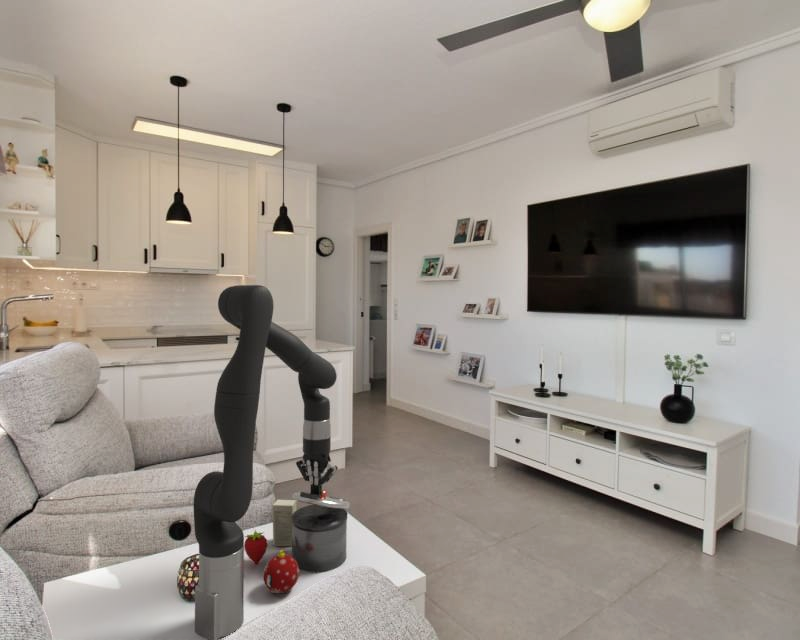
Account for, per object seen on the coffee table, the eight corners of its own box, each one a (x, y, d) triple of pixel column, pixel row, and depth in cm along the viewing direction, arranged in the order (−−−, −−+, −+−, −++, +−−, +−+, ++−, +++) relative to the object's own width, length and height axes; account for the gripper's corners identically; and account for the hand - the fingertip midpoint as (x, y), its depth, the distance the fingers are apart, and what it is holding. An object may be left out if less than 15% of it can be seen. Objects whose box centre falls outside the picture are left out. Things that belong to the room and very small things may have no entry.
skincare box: (297, 539, 144) (298, 499, 143) (293, 547, 139) (293, 505, 139) (277, 538, 144) (277, 498, 144) (271, 545, 140) (272, 504, 140)
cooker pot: (325, 578, 123) (326, 532, 123) (279, 563, 130) (279, 520, 130) (357, 551, 137) (357, 510, 137) (314, 539, 144) (314, 500, 144)
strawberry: (248, 574, 125) (248, 536, 125) (241, 561, 131) (241, 525, 131) (271, 567, 128) (271, 530, 128) (262, 555, 135) (262, 520, 134)
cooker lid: (328, 509, 123) (331, 495, 124) (280, 497, 131) (283, 484, 131) (360, 509, 137) (362, 496, 138) (315, 498, 145) (317, 486, 146)
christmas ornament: (306, 587, 119) (306, 548, 119) (280, 605, 112) (280, 563, 112) (281, 576, 124) (281, 538, 124) (255, 593, 117) (255, 553, 116)
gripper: (288, 434, 131) (288, 497, 131) (328, 441, 125) (327, 507, 125) (306, 428, 138) (305, 488, 138) (344, 434, 132) (343, 497, 132)
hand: (316, 497), depth 132 cm, fingers closed
